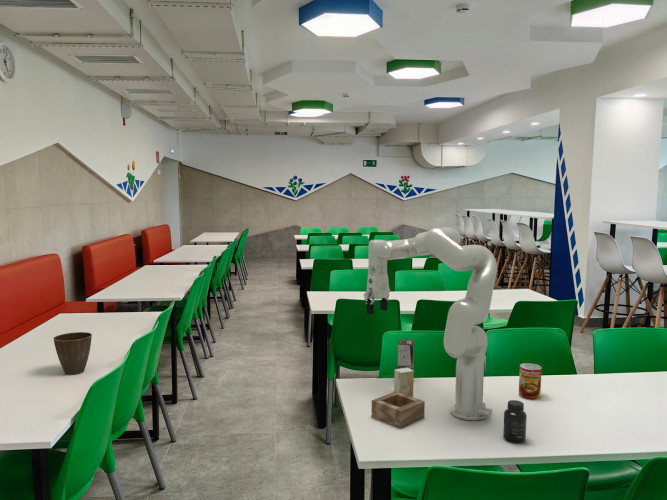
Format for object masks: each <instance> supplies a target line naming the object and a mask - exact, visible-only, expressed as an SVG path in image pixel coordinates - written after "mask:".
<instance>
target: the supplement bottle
mask: <svg viewBox="0 0 667 500" xmlns="http://www.w3.org/2000/svg"><path fill="white" fill-rule="evenodd" d="M506 407H507V408H506V409H505V410H504V412H503V428H502V429H503V431H502V432H503V433H502V436H503V438H504V440H505V441H507V442H509V443H512V444H517V445H519V444H523V443H524V442H526V439H527V438H526V437H527V420H528V418H527V413H526V411H524V410H525V405H524V402H522V401H520V400H516V399H515V400H514V399H512V400H511V399H510V400H508V401H507V406H506Z"/></svg>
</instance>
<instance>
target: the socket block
mask: <svg viewBox="0 0 667 500" xmlns="http://www.w3.org/2000/svg"><path fill="white" fill-rule="evenodd" d="M425 404H426V401H425V400H423V399H419V398H417V397H414V396H413V397H411V396H408V395H405V394H402V393H399V392H396V391H395V392H394V391H392V392H389V393H387V394H385V395H381V396H380V397H377V398H374V399H371V418H373V419H376V420H378V421H381V422H383V423H385V424H388V425H390V426H392V427H396V428H397V429H400V430H401V429H403V428H405V427H408V426H410V425H411V424H414V423H416V422H419V421H420V420H422V419H425V411H426V410H425Z"/></svg>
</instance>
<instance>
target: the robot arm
mask: <svg viewBox="0 0 667 500" xmlns="http://www.w3.org/2000/svg"><path fill="white" fill-rule="evenodd" d="M460 243H461V235H460V233H459V231H458V230H457V229H455V228H453V227H434V228H431V229H430V230H428V231H423V232H419V233H417V234H416V235H415V236H414V237H410V238H406V239H395V240H384V239H371V240H369V242H368V262H367V263H368V267H367V268H368V271H367V273H368V274H367V282H366V291H365V292H364V293H363V298H364V302H365V304H366V314H369V315H374V313H375V310H374V309H375V304H374V302H375V300H380V301H379V303H380V304H379V308H380V310H381V311H388V301H389V298H390V293H391V289H390V285H389V283H390V282H389V276H388V261H392V260H399V259H400V260H402V259H407V258H413V257H418V256H428V255H433V256H435V258H437V259H438V260H439V261H441V262H442V263H443V264H444V265H446V266H447V267H448V268H450V269H451V270H453V271H456V272H466V271H467V272H468V271H471V270H472V273H471V276H470V278H469V280H468V283H467V287H466V293H465V297H464V298H461V299H458V300H456V301H455V302H453V303H452V305H451V306H450V307H449V308H448V312H447V316H446V317H447V318H446V323H445V329H444V335H443V347H444V350H445V352H446V353H447V355H448V356H450V357H452V358H453V359H456V361H455V362H456V363H455V392H454V394H455V395H454V398H455V399H454V405H452V406H451V407H450V414H451V415H452V416H454V417H455V418H458V419H462V420H465V421H481V420H483V419H485V418H487V417H488V418H491V417H492V416H493V409H492V408H487V407H486V404H487V403H486V402H484V375H485V358H486V352H487V349H488V348H487V347H488V335H487V332H486V331H485V330H484V329H483V328H482V327H480V326H478V325H480V324H483V323H484V322H486V321H487V319H488V317H489V314H490V309H491V308H490V307H491V303H492V299H493V291H494V286H495V283H496V277H497V274H498V264H497V259H496V258H495V255H494V254H493V252H492V251H491V250H490V249H488V248H487V247H486V246H484V245H480V244H469V245H468V244H467V245H460Z"/></svg>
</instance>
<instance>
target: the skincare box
mask: <svg viewBox="0 0 667 500" xmlns="http://www.w3.org/2000/svg"><path fill="white" fill-rule="evenodd" d="M393 372H394V374H393V375H394V377H393V392H395V391H396V392H399V393H402V394H405V395H408V396H411V397H414V379H415V377H414V376H415V375H414V373H415V370H414V369H413V370H411V369H409V368H401V369H398V368H397V369H394V371H393Z"/></svg>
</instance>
